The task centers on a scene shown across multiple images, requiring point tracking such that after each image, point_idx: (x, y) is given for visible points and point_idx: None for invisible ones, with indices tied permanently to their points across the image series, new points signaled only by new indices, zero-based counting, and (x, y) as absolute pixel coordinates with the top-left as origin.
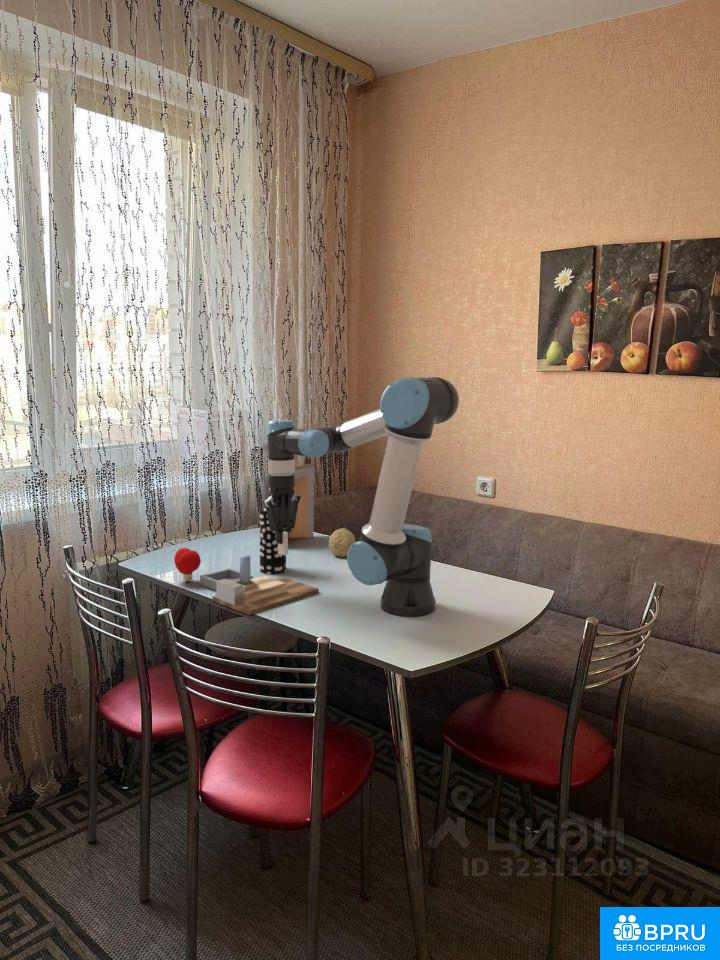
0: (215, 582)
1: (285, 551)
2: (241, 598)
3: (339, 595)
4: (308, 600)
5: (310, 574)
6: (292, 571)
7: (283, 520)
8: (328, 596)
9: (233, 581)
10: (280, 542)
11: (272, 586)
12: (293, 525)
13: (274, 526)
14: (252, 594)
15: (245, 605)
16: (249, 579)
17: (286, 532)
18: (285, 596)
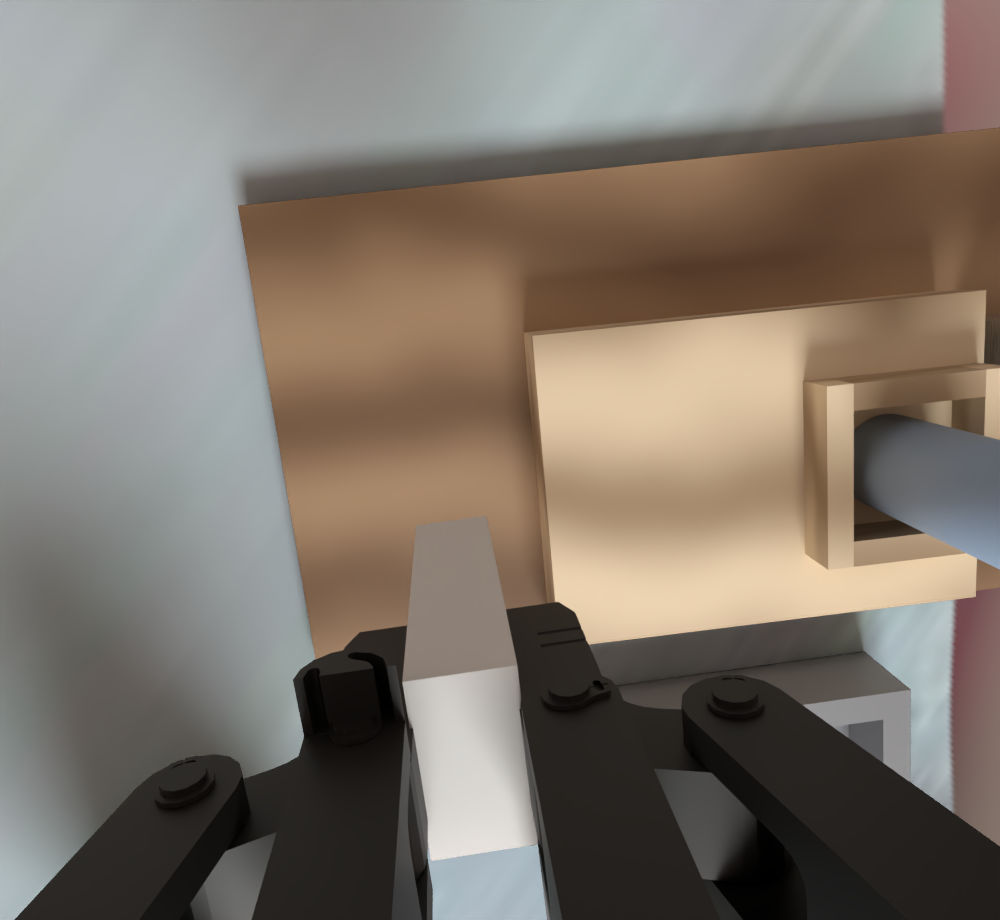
0: (904, 771)
1: (464, 534)
2: (995, 319)
3: (127, 23)
4: (442, 103)
5: (18, 667)
6: (110, 815)
7: (560, 902)
8: (231, 70)
9: (801, 703)
10: (553, 613)
11: (691, 332)
12: (171, 798)
13: (867, 768)
14: (919, 296)
15: (982, 248)
16: (923, 429)
17: (430, 688)
18: (606, 225)
